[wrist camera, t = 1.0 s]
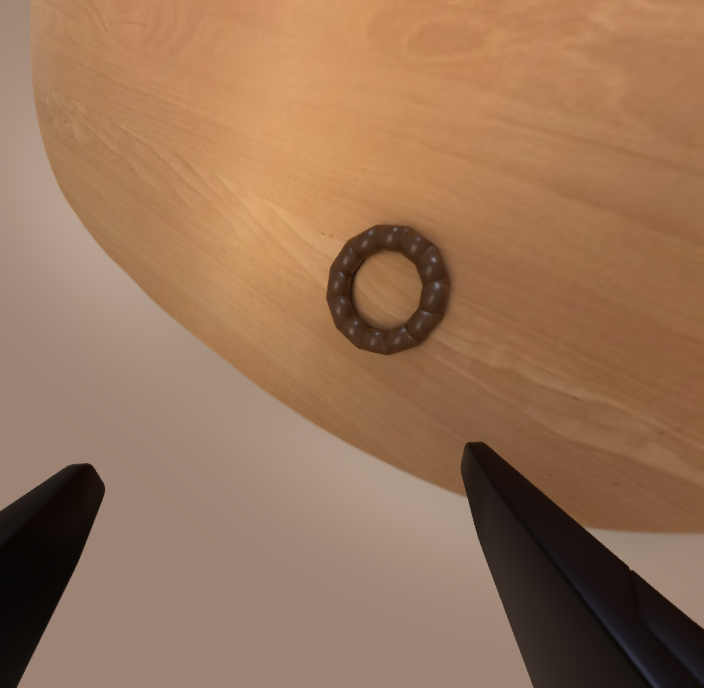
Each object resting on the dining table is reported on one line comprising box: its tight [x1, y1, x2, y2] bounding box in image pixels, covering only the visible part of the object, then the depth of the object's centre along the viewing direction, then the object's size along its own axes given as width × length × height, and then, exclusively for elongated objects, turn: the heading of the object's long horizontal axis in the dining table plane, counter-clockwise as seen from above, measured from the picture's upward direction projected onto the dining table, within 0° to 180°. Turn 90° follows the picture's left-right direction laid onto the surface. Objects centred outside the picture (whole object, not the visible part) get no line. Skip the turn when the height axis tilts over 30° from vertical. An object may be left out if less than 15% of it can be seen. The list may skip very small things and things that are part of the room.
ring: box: [326, 225, 450, 355], centre depth 23 cm, size 8×8×2 cm
